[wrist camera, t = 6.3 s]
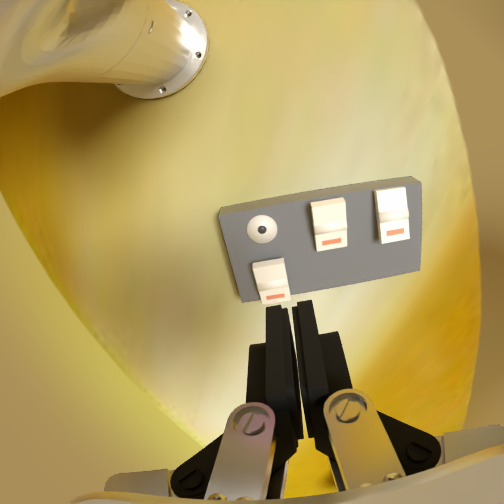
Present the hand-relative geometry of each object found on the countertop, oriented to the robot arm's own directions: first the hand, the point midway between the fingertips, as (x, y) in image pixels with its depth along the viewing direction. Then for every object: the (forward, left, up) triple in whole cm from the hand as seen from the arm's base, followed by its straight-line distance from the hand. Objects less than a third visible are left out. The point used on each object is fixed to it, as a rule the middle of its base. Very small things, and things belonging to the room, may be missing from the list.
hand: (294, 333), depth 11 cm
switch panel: (+9, +5, -27) cm, 29 cm away
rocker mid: (+6, +5, -23) cm, 24 cm away
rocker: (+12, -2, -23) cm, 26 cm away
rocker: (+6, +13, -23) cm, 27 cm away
